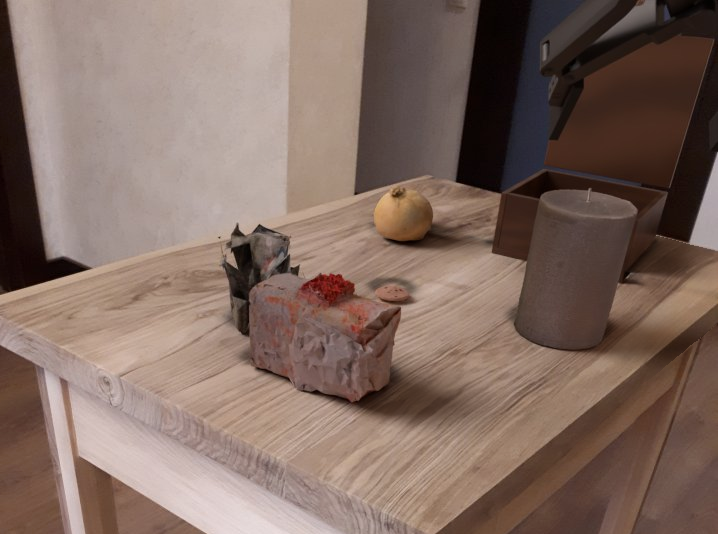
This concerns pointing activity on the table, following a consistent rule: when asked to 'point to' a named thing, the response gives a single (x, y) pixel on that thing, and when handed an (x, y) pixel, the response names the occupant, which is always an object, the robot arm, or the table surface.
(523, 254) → the chest
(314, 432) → the table surface
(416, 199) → the onion
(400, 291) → the cookie
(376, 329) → the food item
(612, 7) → the robot arm
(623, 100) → the chest lid
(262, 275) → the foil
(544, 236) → the pillar candle
